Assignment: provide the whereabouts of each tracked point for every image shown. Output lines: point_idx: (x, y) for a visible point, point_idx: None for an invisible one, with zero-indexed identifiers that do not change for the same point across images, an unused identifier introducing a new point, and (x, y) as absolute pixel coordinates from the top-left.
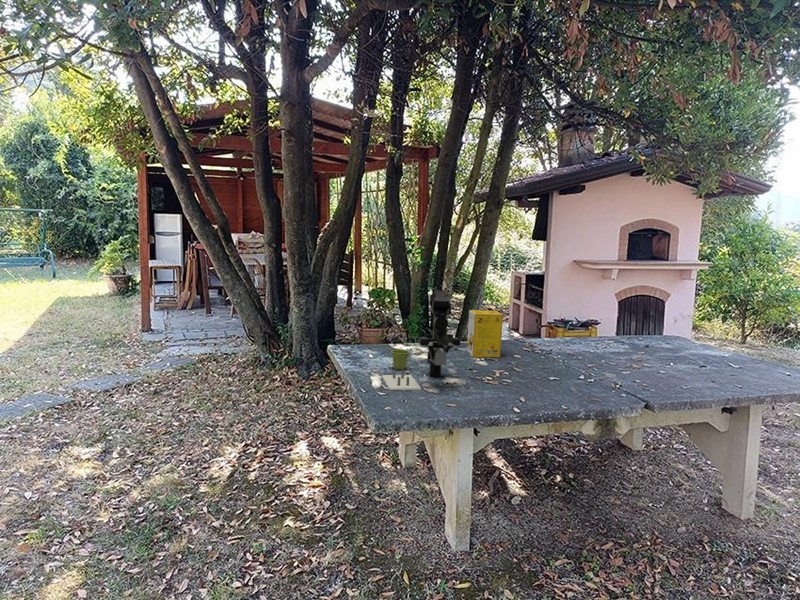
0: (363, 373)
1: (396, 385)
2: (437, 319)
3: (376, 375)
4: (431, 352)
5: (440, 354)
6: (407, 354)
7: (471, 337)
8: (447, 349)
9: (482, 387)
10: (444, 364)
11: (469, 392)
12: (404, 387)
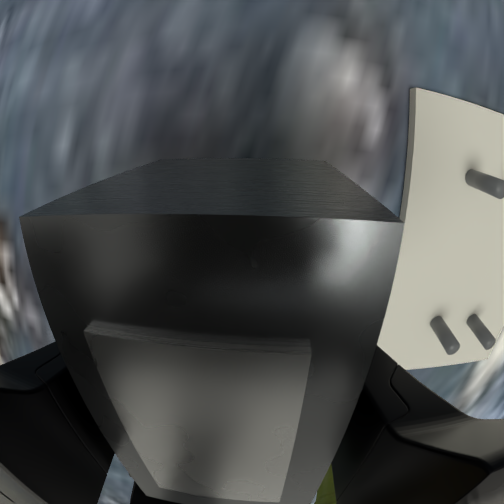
0: (500, 388)
1: None
2: None
3: (482, 373)
4: (399, 376)
5: (227, 190)
6: (328, 501)
7: None
8: (18, 376)
9: (21, 148)
10: (180, 159)
11: (101, 39)
12: (498, 129)
